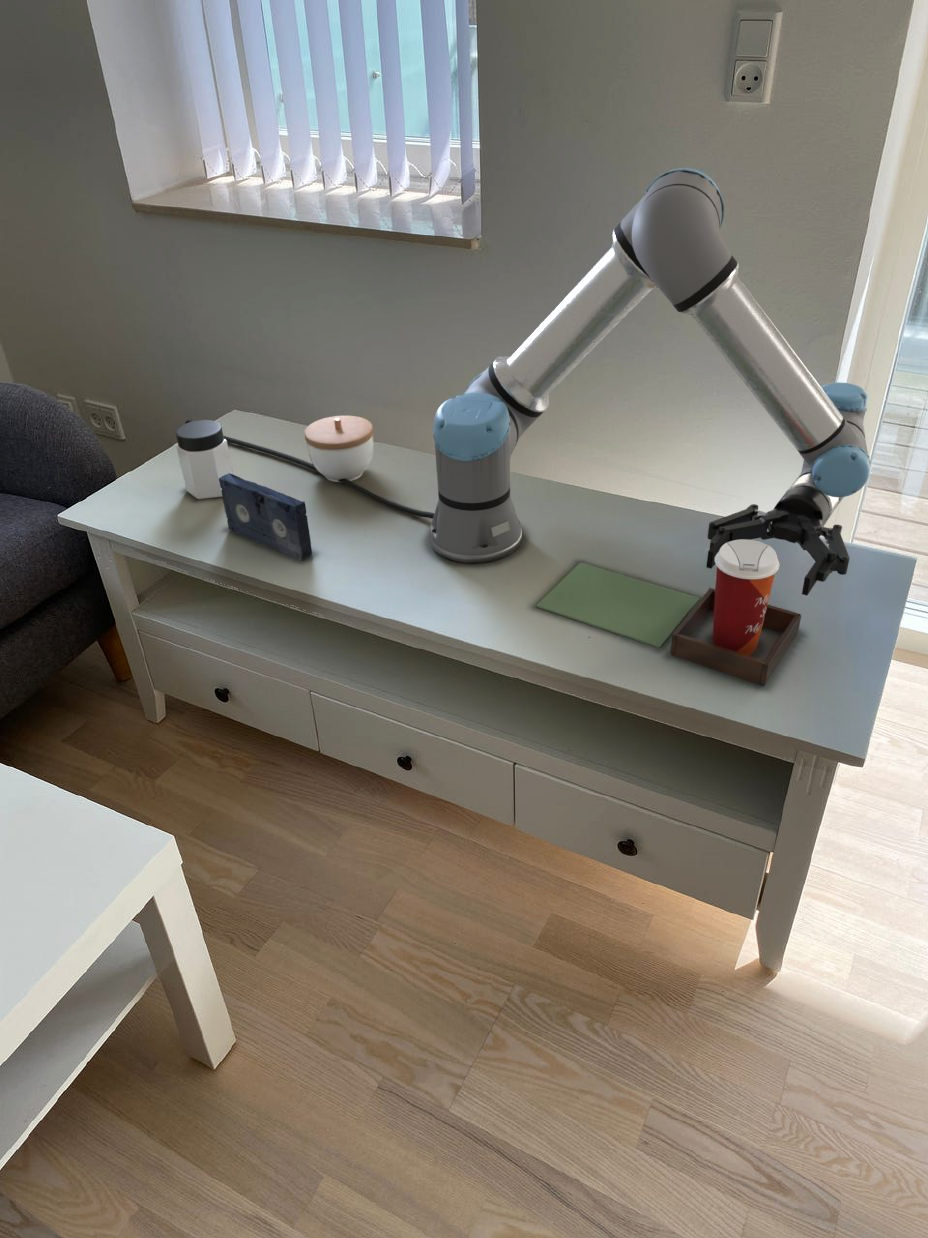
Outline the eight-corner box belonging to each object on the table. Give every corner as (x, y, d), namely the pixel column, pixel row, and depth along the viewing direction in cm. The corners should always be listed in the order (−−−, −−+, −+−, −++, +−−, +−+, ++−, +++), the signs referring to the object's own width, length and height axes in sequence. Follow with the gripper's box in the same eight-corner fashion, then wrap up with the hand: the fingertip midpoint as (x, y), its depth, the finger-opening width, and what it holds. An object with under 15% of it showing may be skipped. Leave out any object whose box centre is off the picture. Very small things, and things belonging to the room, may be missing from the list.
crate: (669, 654, 135) (671, 634, 133) (707, 607, 144) (710, 587, 141) (764, 686, 128) (768, 665, 126) (797, 634, 137) (801, 614, 135)
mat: (535, 607, 145) (535, 605, 145) (580, 563, 155) (580, 562, 155) (659, 648, 136) (660, 646, 136) (699, 599, 145) (699, 597, 145)
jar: (236, 476, 185) (224, 417, 178) (234, 496, 178) (222, 435, 171) (188, 481, 184) (174, 422, 177) (185, 501, 177) (171, 440, 170)
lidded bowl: (318, 458, 190) (311, 405, 183) (382, 459, 188) (377, 405, 182) (303, 489, 180) (295, 433, 173) (370, 489, 178) (364, 433, 172)
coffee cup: (766, 665, 132) (782, 572, 123) (704, 660, 133) (715, 567, 125) (763, 629, 138) (779, 538, 130) (704, 624, 140) (715, 534, 131)
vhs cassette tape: (313, 554, 160) (305, 501, 155) (300, 562, 158) (291, 508, 153) (241, 522, 170) (231, 471, 164) (228, 529, 168) (217, 478, 163)
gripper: (885, 549, 145) (843, 621, 131) (724, 509, 156) (670, 571, 142) (896, 505, 140) (854, 574, 126) (729, 467, 152) (674, 527, 138)
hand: (756, 573), depth 134 cm, fingers open, 13 cm apart
